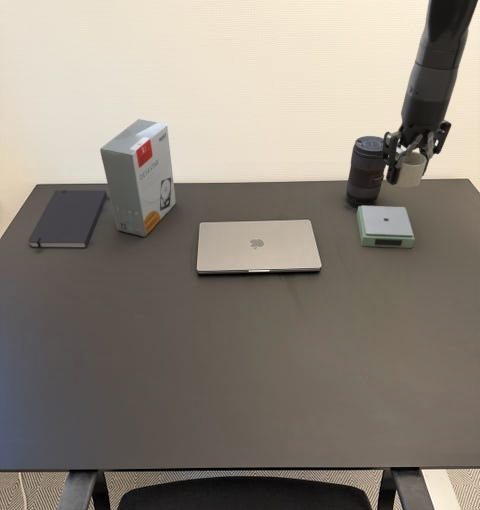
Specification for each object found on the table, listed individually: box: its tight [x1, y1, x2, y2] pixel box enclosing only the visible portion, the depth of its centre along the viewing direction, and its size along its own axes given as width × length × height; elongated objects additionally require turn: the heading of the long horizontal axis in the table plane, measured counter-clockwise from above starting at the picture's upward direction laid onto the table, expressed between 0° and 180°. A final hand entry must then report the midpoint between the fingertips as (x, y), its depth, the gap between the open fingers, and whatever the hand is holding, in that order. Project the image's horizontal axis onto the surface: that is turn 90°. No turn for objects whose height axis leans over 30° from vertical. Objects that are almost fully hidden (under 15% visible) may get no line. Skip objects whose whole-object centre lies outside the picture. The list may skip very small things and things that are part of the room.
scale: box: [356, 205, 416, 249], centre depth 106 cm, size 11×12×3 cm
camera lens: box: [345, 135, 389, 209], centre depth 110 cm, size 8×8×15 cm
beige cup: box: [394, 150, 427, 190], centre depth 91 cm, size 6×6×5 cm
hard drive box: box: [99, 118, 177, 238], centre depth 104 cm, size 16×8×20 cm, turn 158°
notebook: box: [28, 189, 108, 249], centre depth 110 cm, size 13×2×21 cm
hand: (404, 178), depth 93 cm, fingers closed on beige cup, 6 cm apart
